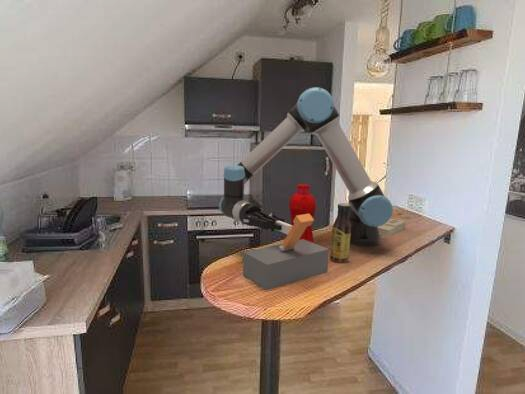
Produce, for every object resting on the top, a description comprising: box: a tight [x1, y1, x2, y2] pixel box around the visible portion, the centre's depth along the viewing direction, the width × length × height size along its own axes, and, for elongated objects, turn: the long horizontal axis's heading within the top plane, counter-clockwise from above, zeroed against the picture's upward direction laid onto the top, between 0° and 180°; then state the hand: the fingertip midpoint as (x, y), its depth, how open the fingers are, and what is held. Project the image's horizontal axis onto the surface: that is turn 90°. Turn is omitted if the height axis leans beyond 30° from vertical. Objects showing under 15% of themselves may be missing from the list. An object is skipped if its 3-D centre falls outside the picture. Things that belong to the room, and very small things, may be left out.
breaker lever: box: [279, 214, 315, 252], centre depth 103 cm, size 5×3×14 cm
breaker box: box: [242, 239, 330, 291], centre depth 107 cm, size 24×12×8 cm, turn 126°
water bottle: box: [288, 183, 317, 244], centre depth 126 cm, size 9×11×25 cm
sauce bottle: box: [329, 202, 351, 263], centre depth 119 cm, size 6×6×20 cm
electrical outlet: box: [378, 218, 407, 237], centre depth 158 cm, size 7×4×18 cm
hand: (290, 230), depth 104 cm, fingers closed
